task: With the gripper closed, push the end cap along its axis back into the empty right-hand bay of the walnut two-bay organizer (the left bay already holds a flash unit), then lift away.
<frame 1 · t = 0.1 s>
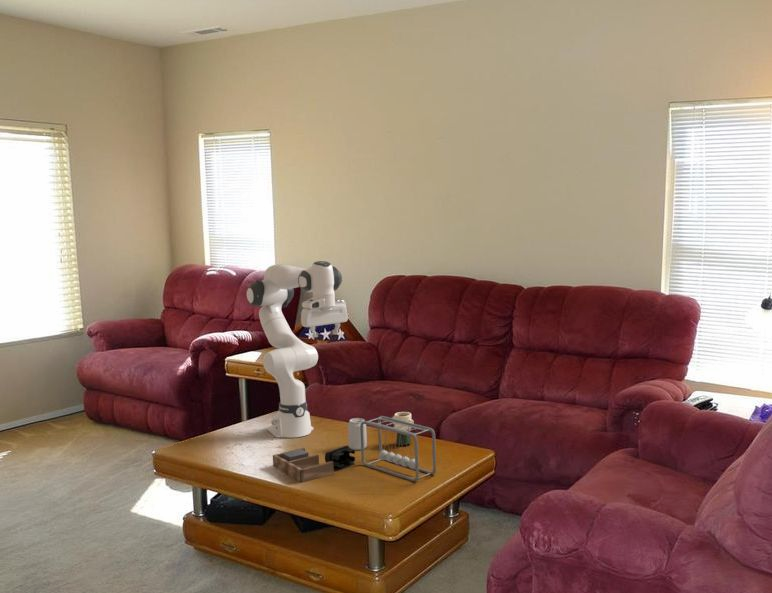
hand: (325, 335, 303), 48 cm above the table, fingers open, 8 cm apart
walnut organizer: (304, 469, 287), on the table
can: (358, 448, 311), on the table
character mug: (403, 444, 313), on the table
flash unit: (296, 466, 291), resting in walnut organizer
end cap: (340, 466, 290), on the table
newton's cradle: (398, 470, 283), on the table
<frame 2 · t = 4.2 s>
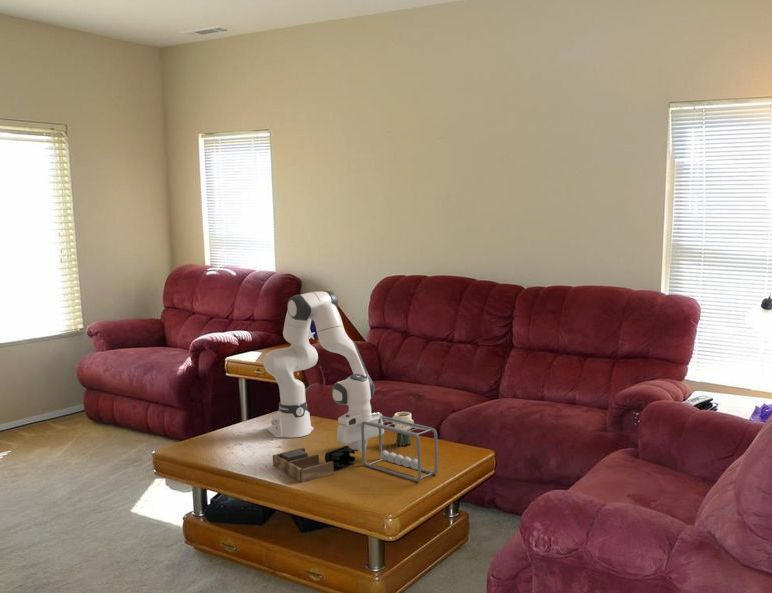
hand: (361, 450, 295), 4 cm above the table, fingers closed
nothing on the table moved.
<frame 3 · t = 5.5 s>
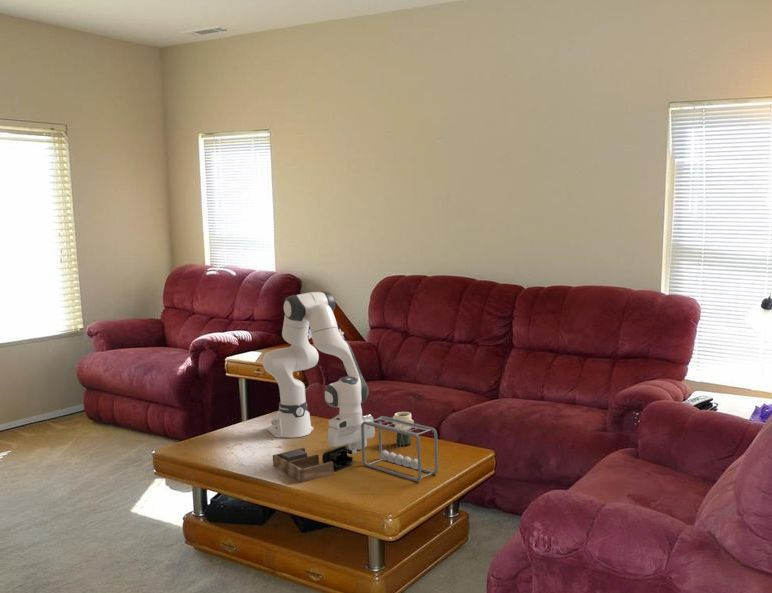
hand: (352, 453, 293), 4 cm above the table, fingers closed
end cap: (338, 466, 289), on the table, touching gripper
everything else where it was.
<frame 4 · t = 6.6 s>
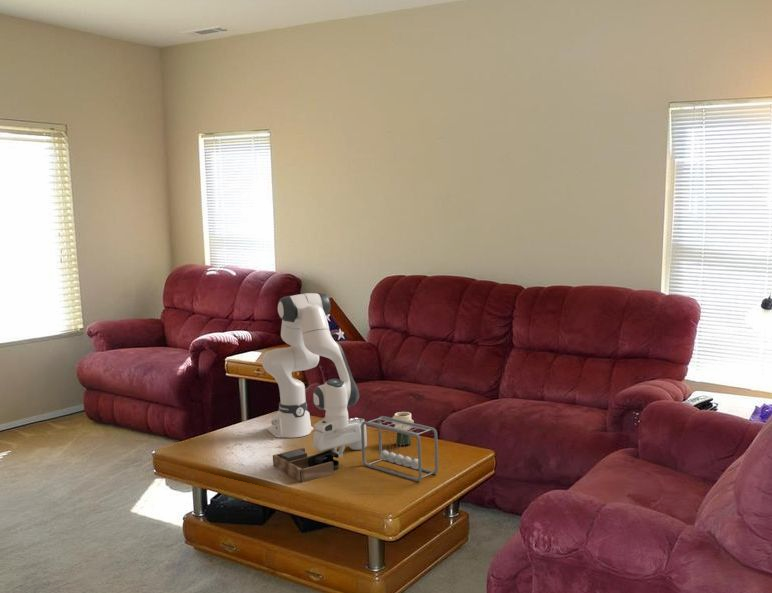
hand: (338, 456, 289), 4 cm above the table, fingers closed
end cap: (324, 470, 286), on the table, touching gripper
everything else where it was.
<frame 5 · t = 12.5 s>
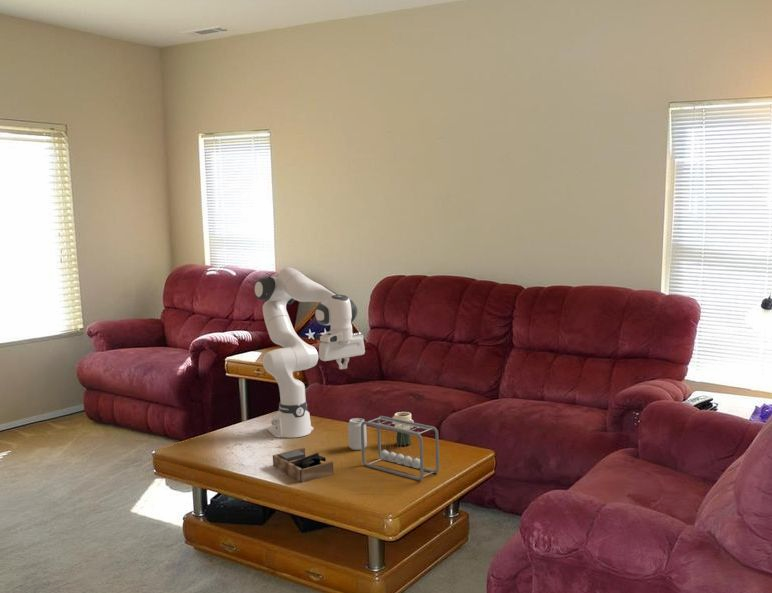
hand: (343, 368, 304), 34 cm above the table, fingers closed
end cap: (311, 474, 282), on the table
at the end: end cap inside the target area (0.3 cm from its centre), on the table; flash unit moved 1.7 cm from its start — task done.
